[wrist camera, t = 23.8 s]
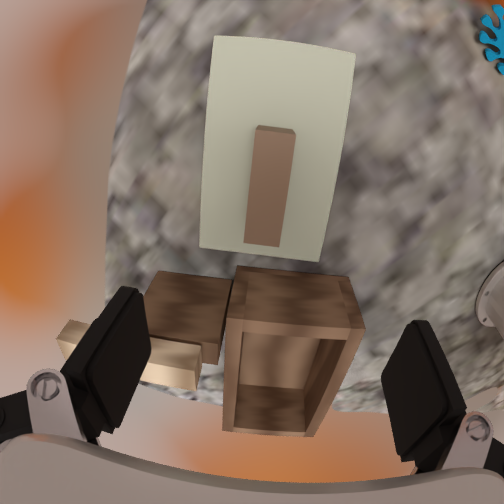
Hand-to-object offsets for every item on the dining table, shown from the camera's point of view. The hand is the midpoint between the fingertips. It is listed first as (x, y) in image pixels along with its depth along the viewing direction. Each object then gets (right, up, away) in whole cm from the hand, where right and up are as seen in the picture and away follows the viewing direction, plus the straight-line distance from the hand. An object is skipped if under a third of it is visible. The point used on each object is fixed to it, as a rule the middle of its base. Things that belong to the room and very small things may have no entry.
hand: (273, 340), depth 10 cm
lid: (+1, +13, +19) cm, 23 cm away
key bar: (-12, -6, +17) cm, 22 cm away
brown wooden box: (-2, -8, +30) cm, 31 cm away
